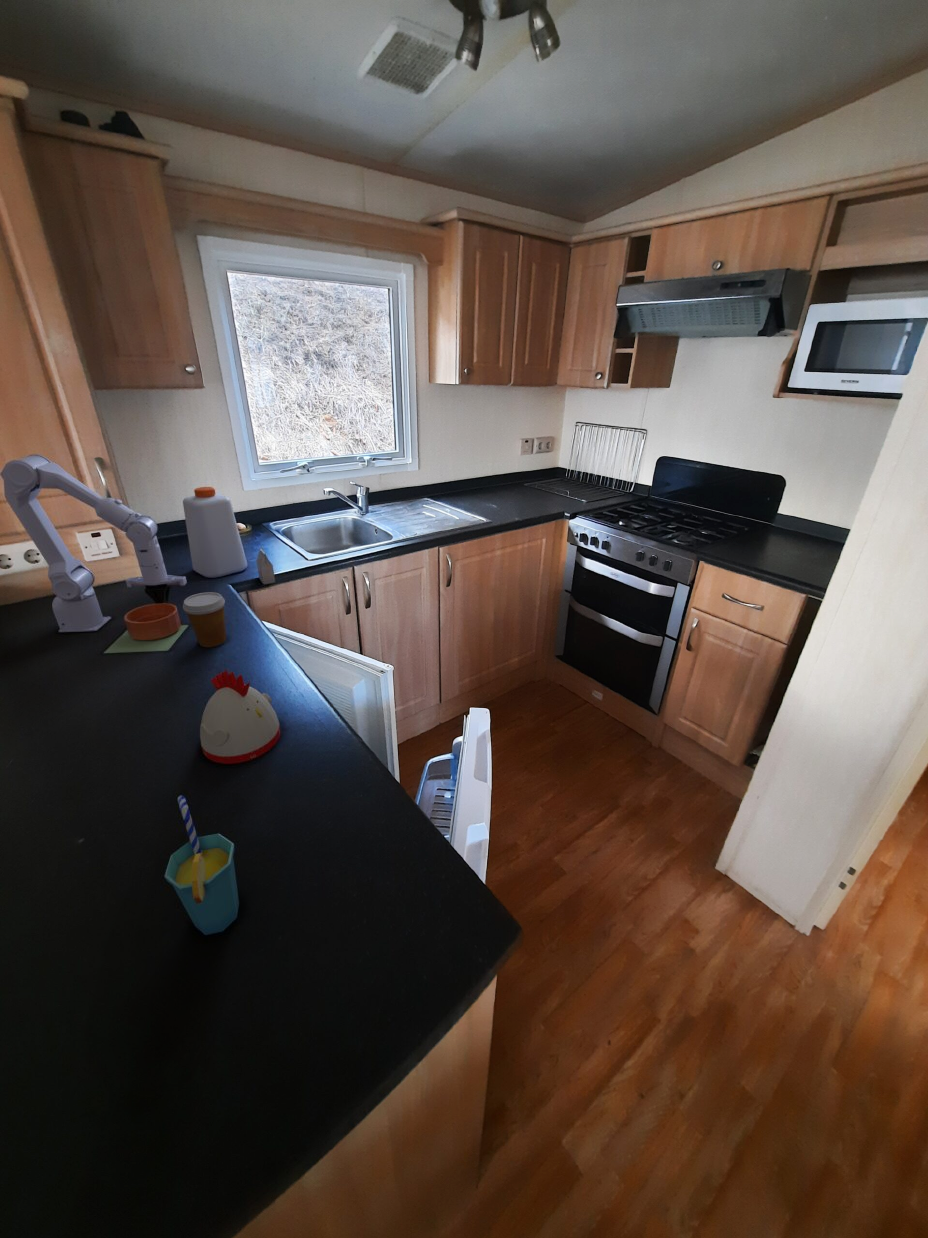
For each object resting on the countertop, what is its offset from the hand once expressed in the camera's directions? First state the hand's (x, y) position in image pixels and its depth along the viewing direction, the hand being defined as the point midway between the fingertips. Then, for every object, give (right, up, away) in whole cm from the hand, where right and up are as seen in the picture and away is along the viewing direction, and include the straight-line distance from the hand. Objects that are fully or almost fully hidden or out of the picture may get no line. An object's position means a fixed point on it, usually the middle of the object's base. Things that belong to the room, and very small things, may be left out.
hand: (164, 609), depth 140 cm
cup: (+51, -41, -74) cm, 98 cm away
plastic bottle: (-1, +14, +36) cm, 39 cm away
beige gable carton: (+18, +10, +28) cm, 35 cm away
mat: (+1, -8, -9) cm, 12 cm away
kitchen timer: (+41, -26, -43) cm, 65 cm away
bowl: (+1, -6, -6) cm, 8 cm away
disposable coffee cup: (+18, -9, -10) cm, 22 cm away
